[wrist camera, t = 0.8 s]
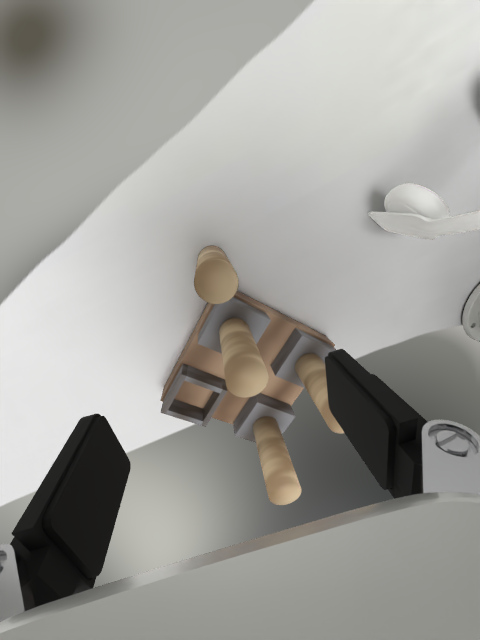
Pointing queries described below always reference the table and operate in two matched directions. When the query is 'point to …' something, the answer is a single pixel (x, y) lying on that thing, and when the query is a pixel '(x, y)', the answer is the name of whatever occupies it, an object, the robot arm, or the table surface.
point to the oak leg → (215, 276)
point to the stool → (251, 380)
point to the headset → (421, 214)
